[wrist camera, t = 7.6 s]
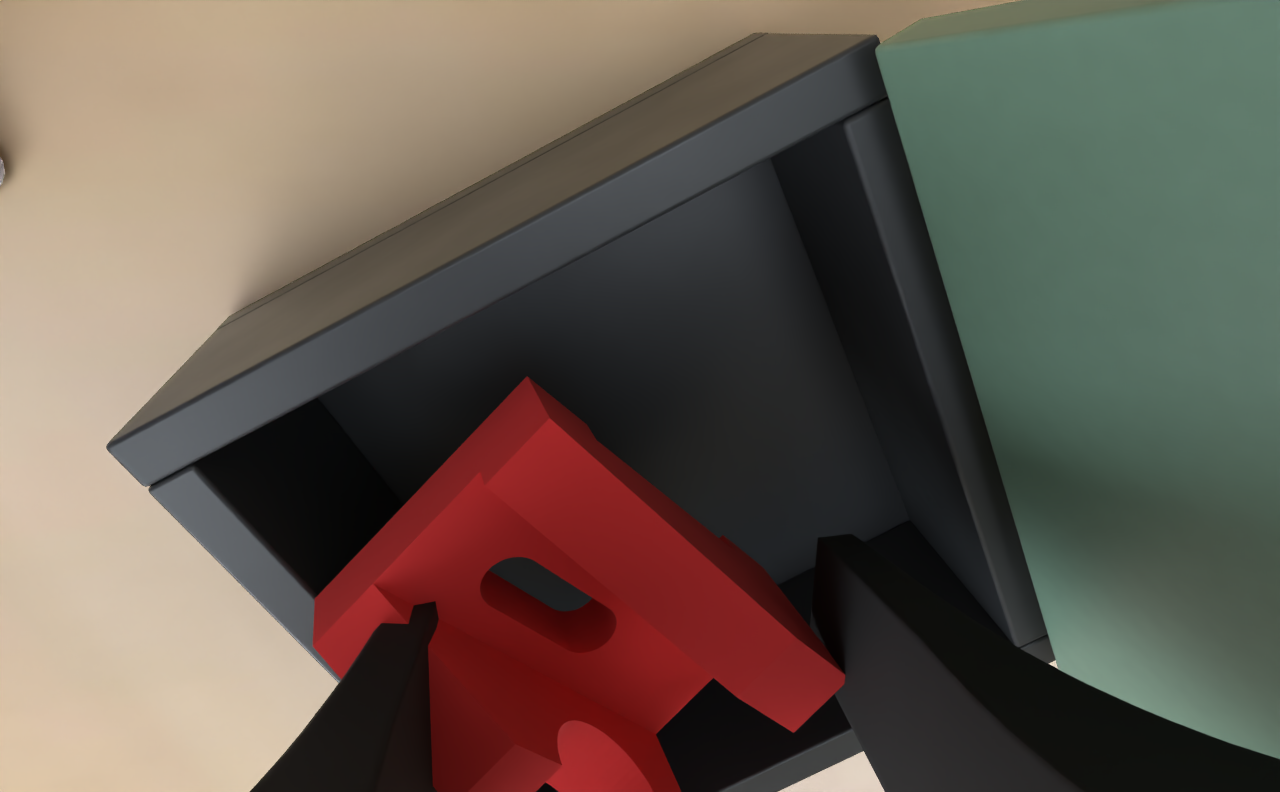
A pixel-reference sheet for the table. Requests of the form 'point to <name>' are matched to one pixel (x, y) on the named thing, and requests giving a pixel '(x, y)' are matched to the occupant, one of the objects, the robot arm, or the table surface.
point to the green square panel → (1121, 323)
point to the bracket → (568, 612)
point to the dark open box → (630, 369)
